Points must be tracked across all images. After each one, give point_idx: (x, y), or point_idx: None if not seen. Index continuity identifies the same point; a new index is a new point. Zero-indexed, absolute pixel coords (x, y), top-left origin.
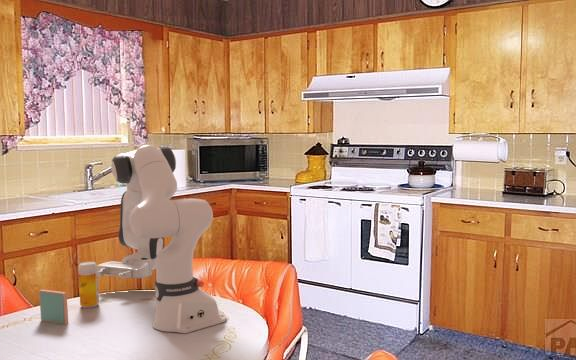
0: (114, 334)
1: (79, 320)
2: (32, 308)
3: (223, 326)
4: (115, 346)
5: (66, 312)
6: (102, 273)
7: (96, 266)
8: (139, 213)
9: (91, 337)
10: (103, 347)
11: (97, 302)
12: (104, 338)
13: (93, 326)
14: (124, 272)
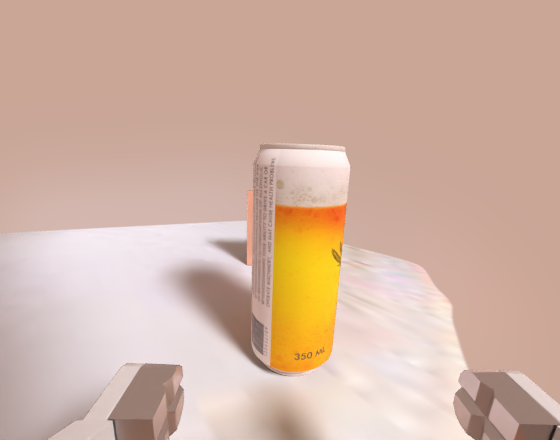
0: (107, 253)
1: (230, 274)
2: (439, 295)
3: None
4: (97, 236)
5: (247, 238)
6: (498, 432)
7: (255, 163)
8: None
9: (155, 244)
10: (120, 234)
11: (251, 337)
12: (127, 245)
13: (173, 264)
14: (89, 431)
